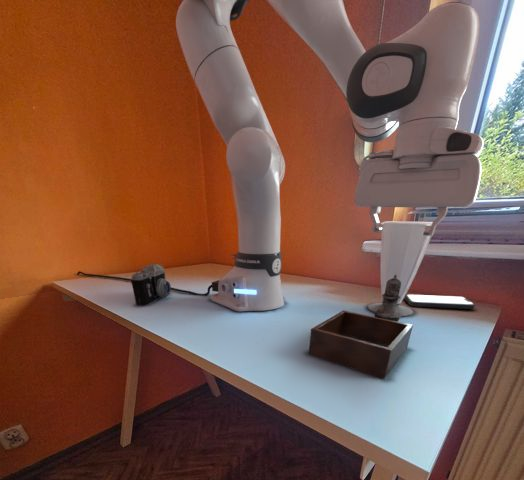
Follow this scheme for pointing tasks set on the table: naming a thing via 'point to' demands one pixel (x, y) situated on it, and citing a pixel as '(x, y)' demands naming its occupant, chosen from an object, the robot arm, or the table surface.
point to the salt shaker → (390, 301)
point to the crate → (360, 342)
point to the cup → (401, 256)
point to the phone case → (439, 301)
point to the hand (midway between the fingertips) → (401, 233)
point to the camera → (150, 285)
